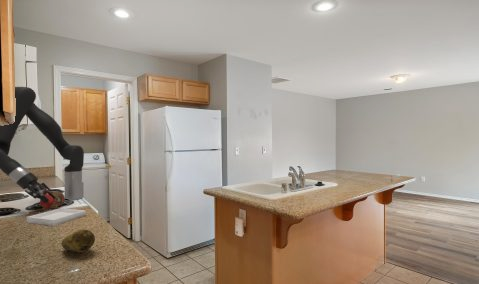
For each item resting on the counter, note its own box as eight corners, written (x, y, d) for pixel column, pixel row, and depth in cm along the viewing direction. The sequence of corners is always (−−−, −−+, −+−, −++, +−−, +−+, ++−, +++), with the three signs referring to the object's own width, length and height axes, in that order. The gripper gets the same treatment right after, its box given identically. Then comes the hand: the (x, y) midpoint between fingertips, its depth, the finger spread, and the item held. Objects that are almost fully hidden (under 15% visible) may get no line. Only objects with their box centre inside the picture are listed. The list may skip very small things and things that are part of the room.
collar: (49, 209, 138) (49, 206, 138) (64, 211, 135) (64, 208, 135) (28, 214, 128) (28, 211, 128) (43, 216, 125) (43, 213, 125)
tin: (39, 205, 146) (39, 190, 146) (45, 204, 149) (45, 189, 149) (60, 207, 142) (60, 192, 142) (65, 206, 145) (65, 191, 145)
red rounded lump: (37, 209, 131) (37, 193, 131) (50, 206, 136) (50, 191, 136) (43, 211, 128) (43, 194, 128) (56, 208, 133) (56, 192, 133)
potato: (89, 243, 92) (89, 221, 92) (97, 256, 82) (97, 230, 82) (60, 250, 87) (60, 225, 87) (65, 264, 77) (65, 236, 77)
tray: (61, 213, 131) (61, 208, 131) (85, 215, 127) (85, 210, 127) (26, 222, 116) (26, 216, 116) (53, 226, 111) (53, 220, 111)
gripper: (20, 174, 123) (49, 198, 126) (37, 170, 137) (63, 192, 140) (7, 185, 122) (37, 209, 125) (25, 180, 136) (52, 202, 139)
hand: (50, 200), depth 132 cm, fingers closed on red rounded lump, 5 cm apart
